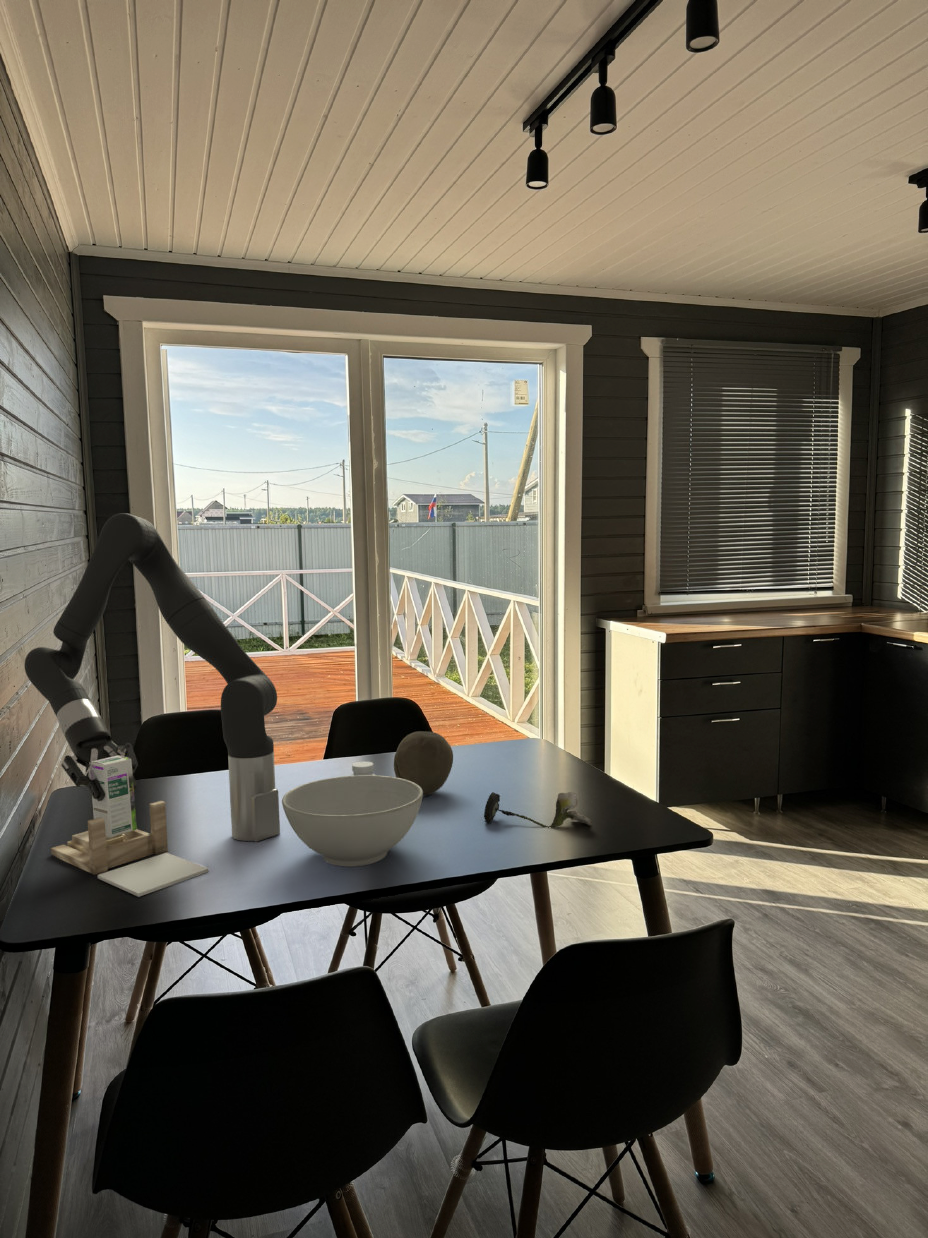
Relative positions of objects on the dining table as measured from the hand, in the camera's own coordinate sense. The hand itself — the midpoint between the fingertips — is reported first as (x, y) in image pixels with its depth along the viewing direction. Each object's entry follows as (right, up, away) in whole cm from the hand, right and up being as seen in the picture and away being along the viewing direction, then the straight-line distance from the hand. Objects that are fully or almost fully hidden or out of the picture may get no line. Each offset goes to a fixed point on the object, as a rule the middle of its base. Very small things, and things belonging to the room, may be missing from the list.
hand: (117, 794), depth 165 cm
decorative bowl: (+46, -12, 0) cm, 47 cm away
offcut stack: (-7, -12, +7) cm, 16 cm away
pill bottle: (+45, -10, +24) cm, 52 cm away
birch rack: (-3, -13, +3) cm, 13 cm away
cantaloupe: (+58, -8, +39) cm, 70 cm away
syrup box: (-1, -8, +2) cm, 8 cm away
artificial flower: (+83, -10, +16) cm, 85 cm away
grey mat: (+10, -13, -8) cm, 18 cm away
